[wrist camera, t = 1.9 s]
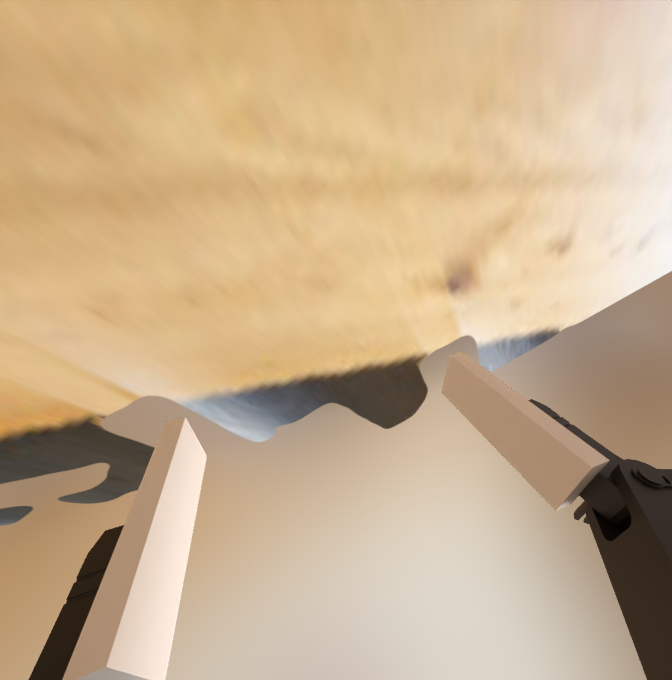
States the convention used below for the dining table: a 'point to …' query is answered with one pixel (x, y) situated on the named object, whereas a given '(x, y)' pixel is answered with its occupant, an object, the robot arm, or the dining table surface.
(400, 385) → the dining table surface
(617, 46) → the dining table surface
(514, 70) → the dining table surface
